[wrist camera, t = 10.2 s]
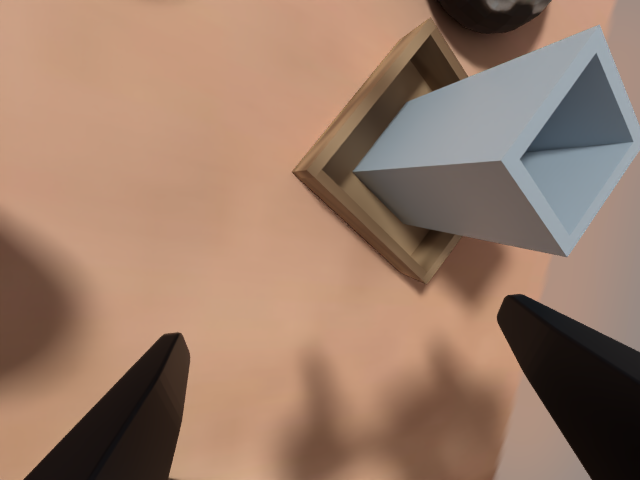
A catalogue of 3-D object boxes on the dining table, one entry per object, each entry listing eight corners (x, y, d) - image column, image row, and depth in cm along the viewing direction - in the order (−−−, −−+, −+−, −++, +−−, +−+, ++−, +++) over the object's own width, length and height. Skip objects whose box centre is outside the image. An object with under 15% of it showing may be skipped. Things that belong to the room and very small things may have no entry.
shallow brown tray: (400, 272, 23) (426, 284, 20) (292, 171, 18) (306, 169, 16) (483, 160, 24) (519, 157, 21) (399, 40, 19) (430, 17, 17)
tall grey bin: (403, 223, 21) (567, 257, 12) (352, 171, 19) (501, 160, 10) (451, 159, 22) (645, 141, 12) (406, 102, 20) (599, 24, 10)
